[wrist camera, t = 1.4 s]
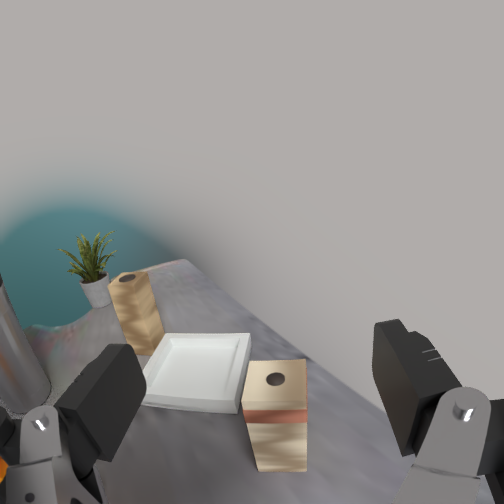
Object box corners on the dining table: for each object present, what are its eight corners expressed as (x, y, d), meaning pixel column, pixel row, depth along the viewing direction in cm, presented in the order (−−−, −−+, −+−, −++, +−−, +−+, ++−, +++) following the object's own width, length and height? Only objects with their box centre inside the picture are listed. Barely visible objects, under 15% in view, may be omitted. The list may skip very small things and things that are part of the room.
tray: (137, 404, 33) (130, 391, 32) (169, 345, 45) (165, 333, 44) (237, 413, 31) (234, 400, 30) (252, 346, 43) (249, 333, 42)
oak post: (131, 353, 43) (107, 285, 39) (142, 338, 48) (121, 272, 44) (156, 355, 43) (133, 284, 39) (166, 339, 47) (146, 270, 43)
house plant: (148, 290, 65) (130, 220, 60) (107, 322, 53) (82, 242, 48) (106, 286, 71) (89, 223, 65) (68, 312, 58) (45, 243, 53)
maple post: (257, 471, 23) (240, 400, 19) (263, 436, 27) (249, 359, 24) (307, 471, 22) (307, 399, 19) (307, 435, 27) (306, 357, 23)
